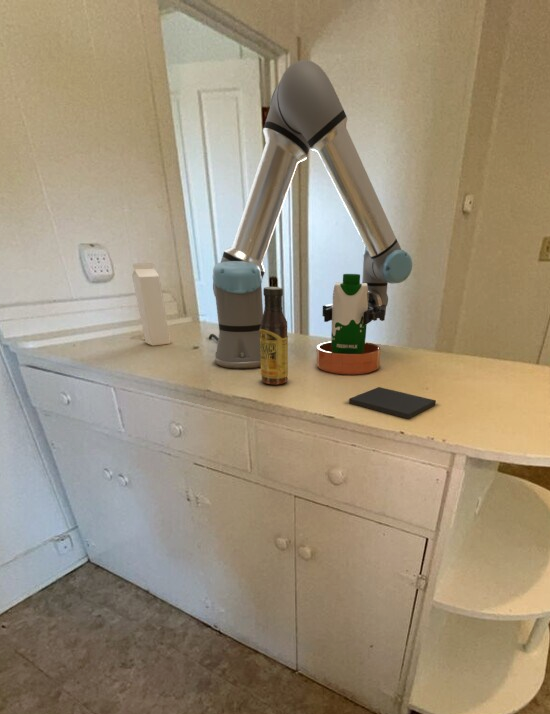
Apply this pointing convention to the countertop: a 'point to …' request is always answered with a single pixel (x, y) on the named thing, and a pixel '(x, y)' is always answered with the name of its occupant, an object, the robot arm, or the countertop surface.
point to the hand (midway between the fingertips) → (345, 317)
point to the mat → (392, 402)
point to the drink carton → (349, 315)
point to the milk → (150, 304)
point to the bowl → (348, 360)
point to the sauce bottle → (273, 339)
